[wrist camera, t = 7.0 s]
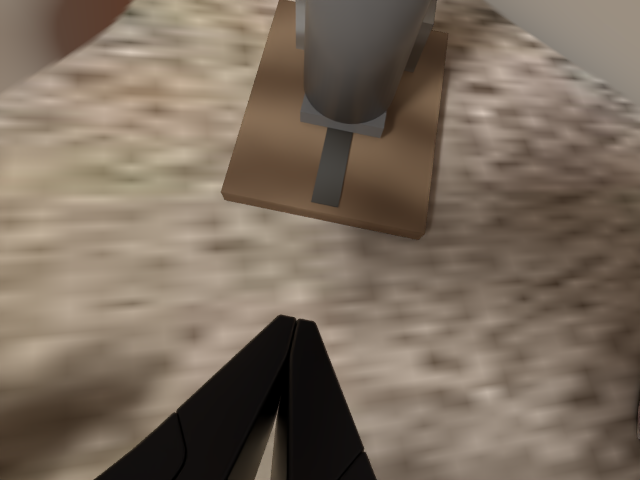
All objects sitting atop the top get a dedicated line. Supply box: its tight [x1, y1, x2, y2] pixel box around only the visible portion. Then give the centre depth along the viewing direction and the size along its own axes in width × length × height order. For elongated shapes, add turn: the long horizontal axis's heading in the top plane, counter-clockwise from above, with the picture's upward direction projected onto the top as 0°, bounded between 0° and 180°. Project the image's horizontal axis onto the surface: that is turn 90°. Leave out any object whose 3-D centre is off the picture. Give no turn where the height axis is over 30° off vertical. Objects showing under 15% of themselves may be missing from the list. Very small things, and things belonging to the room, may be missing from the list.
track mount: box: [221, 0, 448, 240], centre depth 22 cm, size 15×12×5 cm
